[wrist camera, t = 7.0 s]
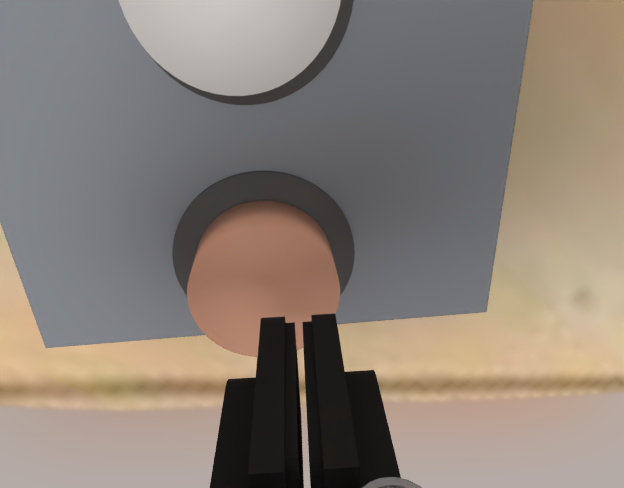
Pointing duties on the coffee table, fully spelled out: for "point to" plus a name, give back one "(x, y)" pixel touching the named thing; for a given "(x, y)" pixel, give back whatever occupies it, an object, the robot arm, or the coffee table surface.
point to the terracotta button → (260, 274)
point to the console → (255, 161)
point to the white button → (232, 39)
